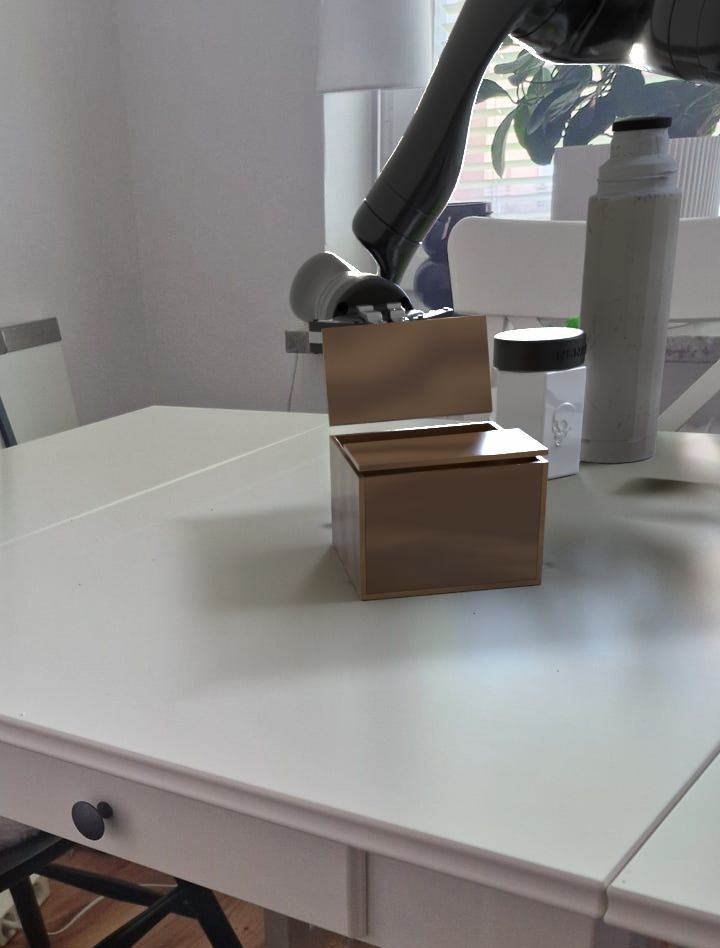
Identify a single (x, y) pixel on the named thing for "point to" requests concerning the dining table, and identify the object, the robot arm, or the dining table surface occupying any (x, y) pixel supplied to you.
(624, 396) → the thermos bottle
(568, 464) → the jar
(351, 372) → the flap
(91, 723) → the dining table surface
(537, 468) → the carton
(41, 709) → the dining table surface
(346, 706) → the dining table surface
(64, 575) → the dining table surface
